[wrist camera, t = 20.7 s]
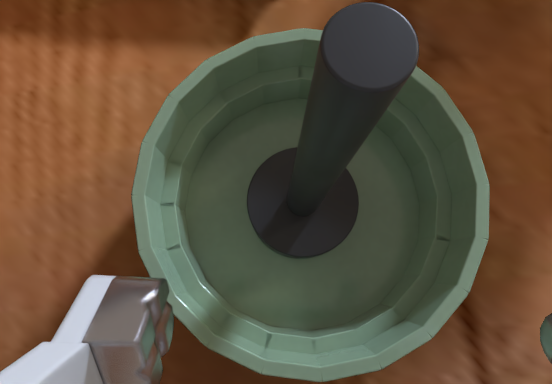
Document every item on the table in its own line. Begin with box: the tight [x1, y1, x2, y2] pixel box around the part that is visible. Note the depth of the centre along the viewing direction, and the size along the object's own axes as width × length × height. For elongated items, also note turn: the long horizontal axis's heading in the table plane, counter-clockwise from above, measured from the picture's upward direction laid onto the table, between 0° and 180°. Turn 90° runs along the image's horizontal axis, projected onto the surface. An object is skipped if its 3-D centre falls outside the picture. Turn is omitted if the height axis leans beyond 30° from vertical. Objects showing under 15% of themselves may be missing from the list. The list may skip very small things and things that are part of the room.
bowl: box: [131, 28, 490, 382], centre depth 20 cm, size 15×15×6 cm
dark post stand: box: [247, 2, 419, 259], centre depth 14 cm, size 6×6×16 cm
